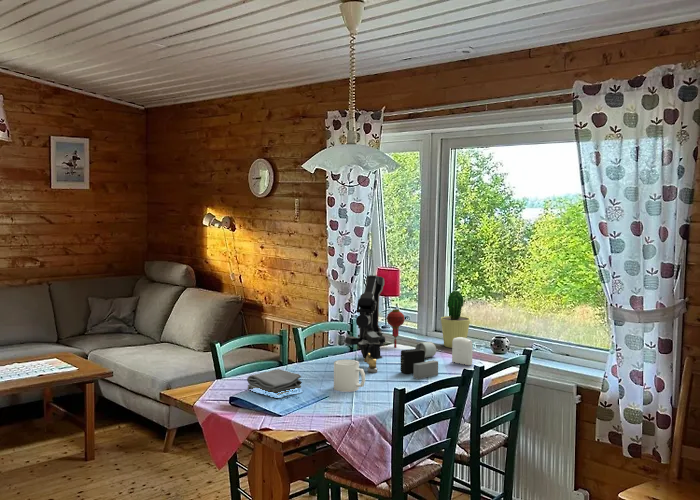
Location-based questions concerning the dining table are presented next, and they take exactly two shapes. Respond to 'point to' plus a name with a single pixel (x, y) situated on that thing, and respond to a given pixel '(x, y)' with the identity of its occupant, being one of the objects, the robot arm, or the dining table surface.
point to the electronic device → (411, 359)
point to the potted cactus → (454, 320)
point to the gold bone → (370, 361)
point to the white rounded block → (462, 351)
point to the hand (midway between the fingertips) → (364, 358)
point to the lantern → (395, 322)
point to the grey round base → (372, 370)
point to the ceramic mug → (427, 348)
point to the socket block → (425, 369)
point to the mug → (347, 375)
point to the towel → (275, 381)
